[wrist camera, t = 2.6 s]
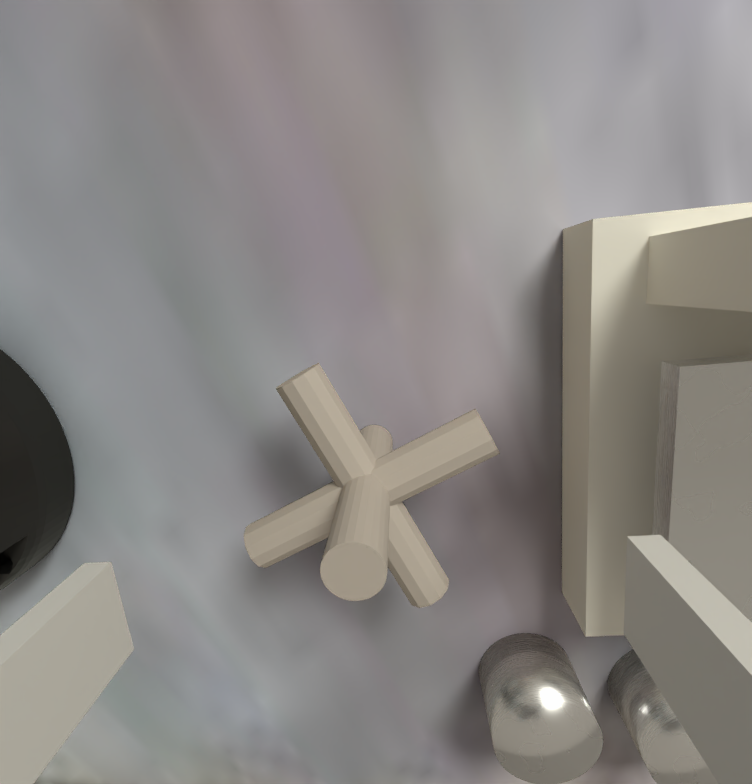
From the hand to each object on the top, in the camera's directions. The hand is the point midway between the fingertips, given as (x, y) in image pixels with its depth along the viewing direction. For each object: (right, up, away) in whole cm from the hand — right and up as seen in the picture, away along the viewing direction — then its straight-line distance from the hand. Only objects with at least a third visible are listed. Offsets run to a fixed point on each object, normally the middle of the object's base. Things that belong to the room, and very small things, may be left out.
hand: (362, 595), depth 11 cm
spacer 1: (+9, -10, +13) cm, 19 cm away
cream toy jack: (0, +3, +10) cm, 11 cm away
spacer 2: (+16, -11, +13) cm, 23 cm away
